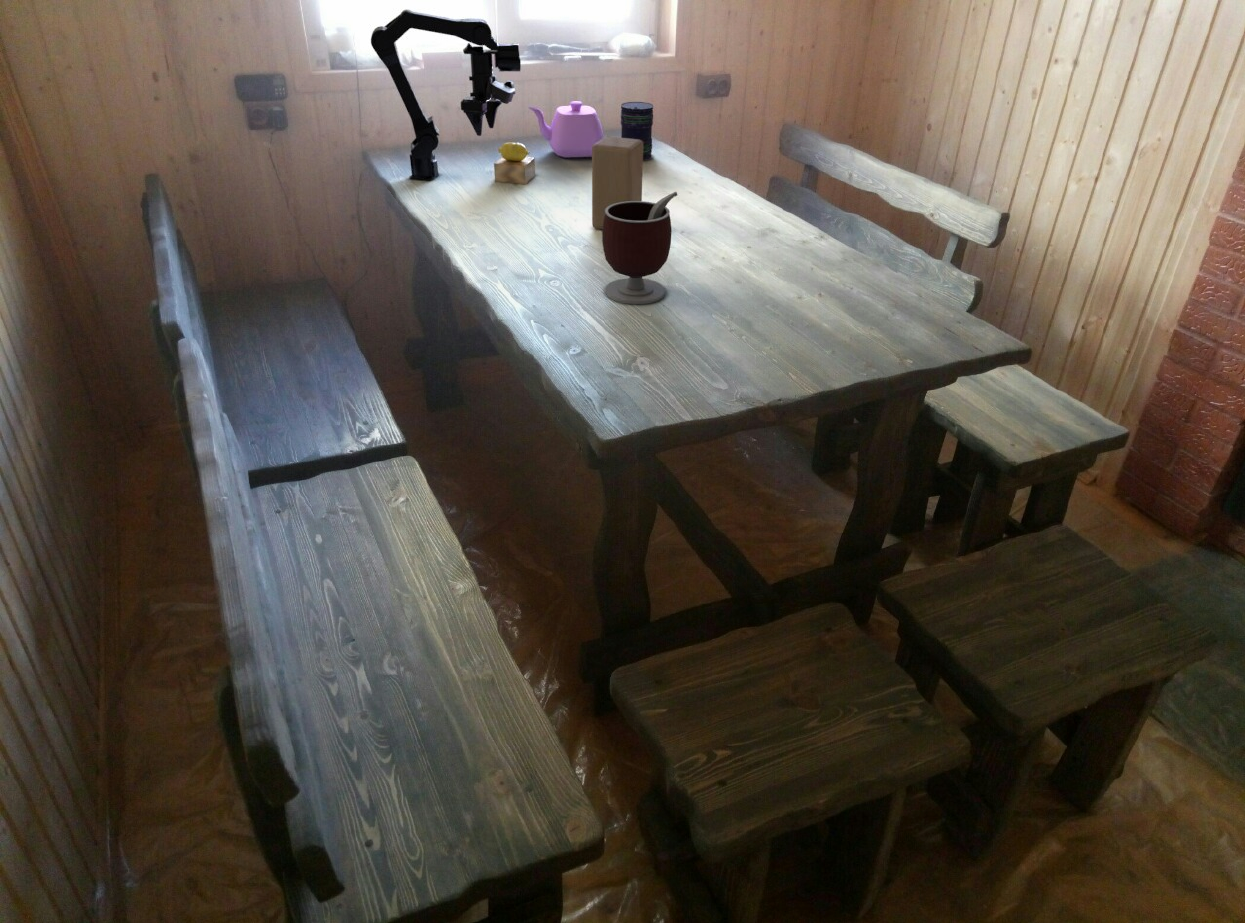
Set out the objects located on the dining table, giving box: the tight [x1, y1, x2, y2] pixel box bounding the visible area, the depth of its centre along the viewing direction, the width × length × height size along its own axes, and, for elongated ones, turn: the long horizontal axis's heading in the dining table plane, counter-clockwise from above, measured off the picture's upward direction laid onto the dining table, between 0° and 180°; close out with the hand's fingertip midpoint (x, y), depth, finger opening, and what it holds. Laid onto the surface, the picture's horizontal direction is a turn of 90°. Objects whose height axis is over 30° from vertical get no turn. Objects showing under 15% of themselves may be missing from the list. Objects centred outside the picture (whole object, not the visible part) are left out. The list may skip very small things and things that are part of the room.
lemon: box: [497, 141, 530, 161], centre depth 244 cm, size 9×5×5 cm, turn 77°
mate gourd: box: [601, 191, 678, 305], centre depth 177 cm, size 16×14×20 cm
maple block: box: [493, 156, 536, 185], centre depth 247 cm, size 9×9×5 cm
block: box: [591, 135, 644, 230], centre depth 211 cm, size 10×10×20 cm
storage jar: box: [620, 101, 654, 162], centre depth 265 cm, size 10×10×15 cm
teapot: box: [527, 100, 604, 159], centre depth 268 cm, size 23×21×15 cm
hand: (485, 131), depth 245 cm, fingers open, 9 cm apart
